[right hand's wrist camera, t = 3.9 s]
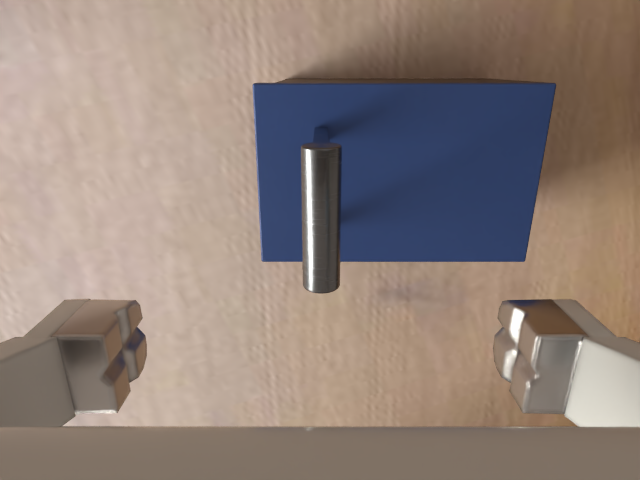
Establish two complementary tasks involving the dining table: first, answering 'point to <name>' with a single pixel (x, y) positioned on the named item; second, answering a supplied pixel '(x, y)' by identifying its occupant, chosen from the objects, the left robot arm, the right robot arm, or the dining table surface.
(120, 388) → the right robot arm
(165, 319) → the dining table surface
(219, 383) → the dining table surface
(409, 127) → the lid
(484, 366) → the dining table surface
